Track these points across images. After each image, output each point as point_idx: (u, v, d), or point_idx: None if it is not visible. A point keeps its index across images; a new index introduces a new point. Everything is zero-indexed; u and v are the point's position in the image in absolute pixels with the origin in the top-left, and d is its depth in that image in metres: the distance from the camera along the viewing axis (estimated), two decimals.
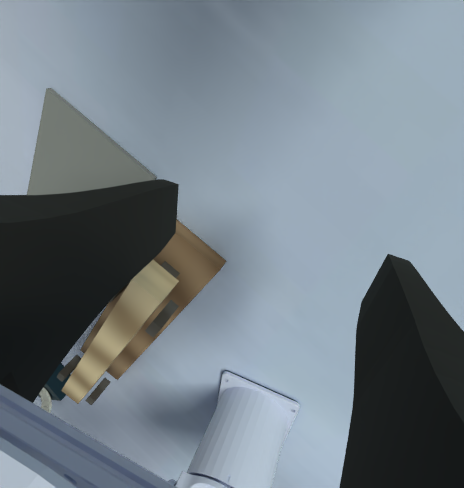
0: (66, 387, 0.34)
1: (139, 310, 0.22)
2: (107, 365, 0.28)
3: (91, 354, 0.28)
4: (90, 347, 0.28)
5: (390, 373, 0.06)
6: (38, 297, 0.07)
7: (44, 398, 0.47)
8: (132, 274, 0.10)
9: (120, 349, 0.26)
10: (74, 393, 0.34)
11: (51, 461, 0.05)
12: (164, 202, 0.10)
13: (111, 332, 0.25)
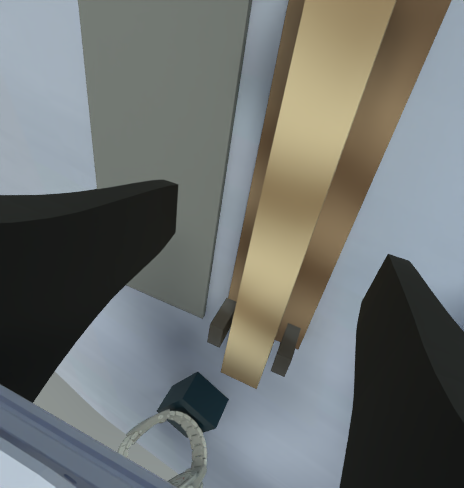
0: (229, 355, 0.19)
1: None
2: (313, 219, 0.12)
3: (271, 211, 0.13)
4: (266, 187, 0.12)
5: (390, 373, 0.06)
6: (38, 297, 0.07)
7: (192, 432, 0.31)
8: (132, 274, 0.10)
9: (348, 120, 0.10)
10: (245, 364, 0.18)
11: (51, 461, 0.05)
12: (164, 202, 0.10)
13: (319, 68, 0.10)
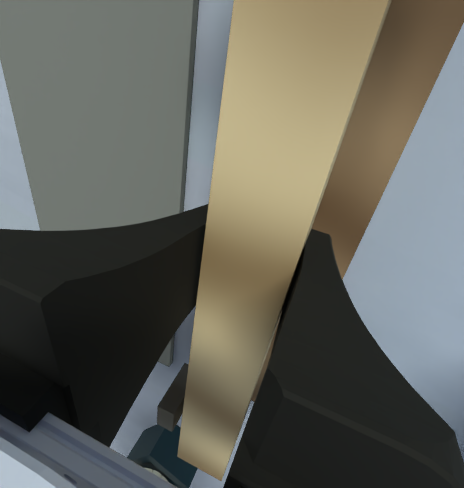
0: (185, 442, 0.15)
1: None
2: (277, 303, 0.08)
3: (217, 287, 0.09)
4: (207, 255, 0.08)
5: None
6: (127, 340, 0.06)
7: None
8: (195, 301, 0.10)
9: (323, 168, 0.06)
10: (205, 454, 0.14)
11: (51, 461, 0.05)
12: None
13: (271, 83, 0.06)
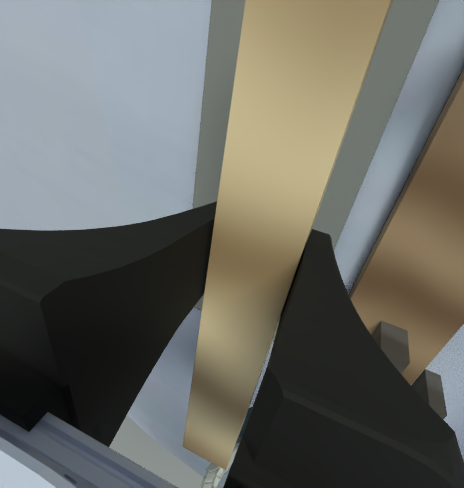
0: (191, 432, 0.15)
1: None
2: (283, 291, 0.09)
3: (225, 277, 0.09)
4: (215, 246, 0.09)
5: None
6: (127, 340, 0.06)
7: None
8: (195, 301, 0.10)
9: (328, 161, 0.07)
10: (210, 443, 0.15)
11: (51, 461, 0.05)
12: None
13: (279, 80, 0.06)
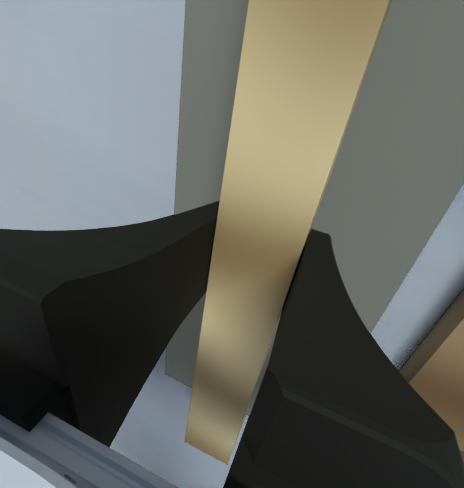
0: (193, 426, 0.15)
1: None
2: (285, 285, 0.09)
3: (227, 271, 0.09)
4: (218, 240, 0.09)
5: None
6: (128, 340, 0.06)
7: None
8: (195, 301, 0.10)
9: (329, 155, 0.07)
10: (212, 438, 0.15)
11: (51, 461, 0.05)
12: None
13: (281, 76, 0.06)
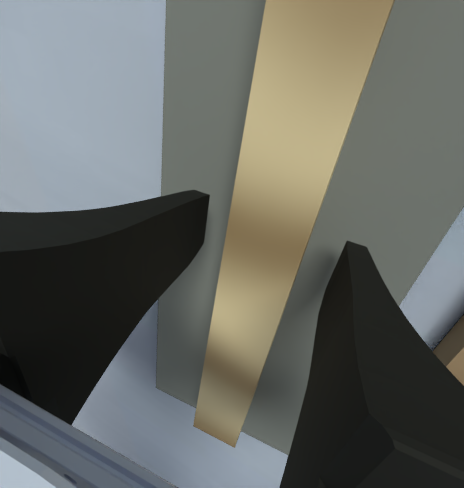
0: (202, 410, 0.16)
1: None
2: (293, 269, 0.10)
3: (239, 256, 0.10)
4: (231, 227, 0.10)
5: (331, 349, 0.07)
6: (83, 319, 0.07)
7: None
8: (164, 288, 0.10)
9: (336, 146, 0.07)
10: (220, 421, 0.16)
11: (51, 461, 0.05)
12: (197, 213, 0.10)
13: (293, 74, 0.07)
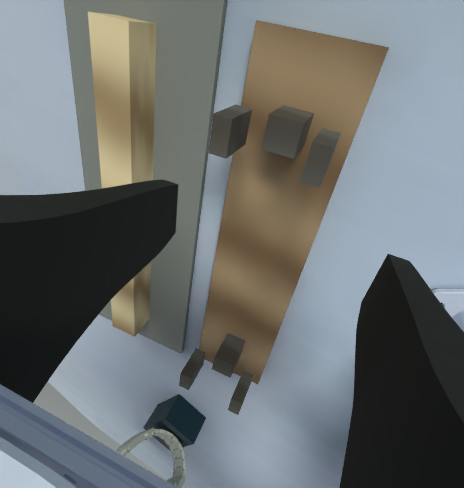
0: (114, 313, 0.28)
1: (117, 68, 0.17)
2: None
3: None
4: None
5: (390, 373, 0.06)
6: (38, 297, 0.07)
7: (173, 447, 0.36)
8: (132, 274, 0.10)
9: (130, 177, 0.20)
10: (124, 319, 0.28)
11: (51, 461, 0.05)
12: (164, 202, 0.10)
13: (110, 152, 0.20)
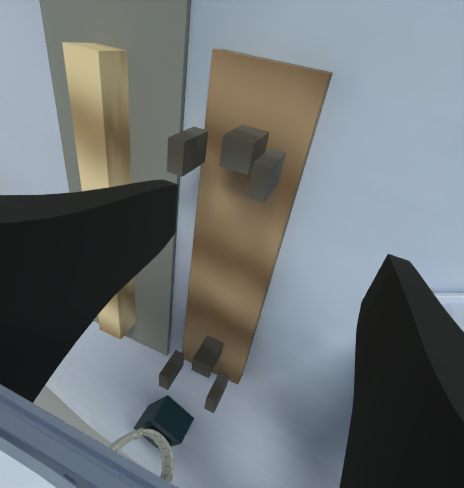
0: (101, 317, 0.30)
1: (90, 92, 0.18)
2: None
3: None
4: None
5: (390, 373, 0.06)
6: (38, 297, 0.07)
7: (162, 446, 0.37)
8: (132, 274, 0.10)
9: None
10: (110, 323, 0.30)
11: (51, 461, 0.05)
12: (164, 202, 0.10)
13: (89, 167, 0.21)
